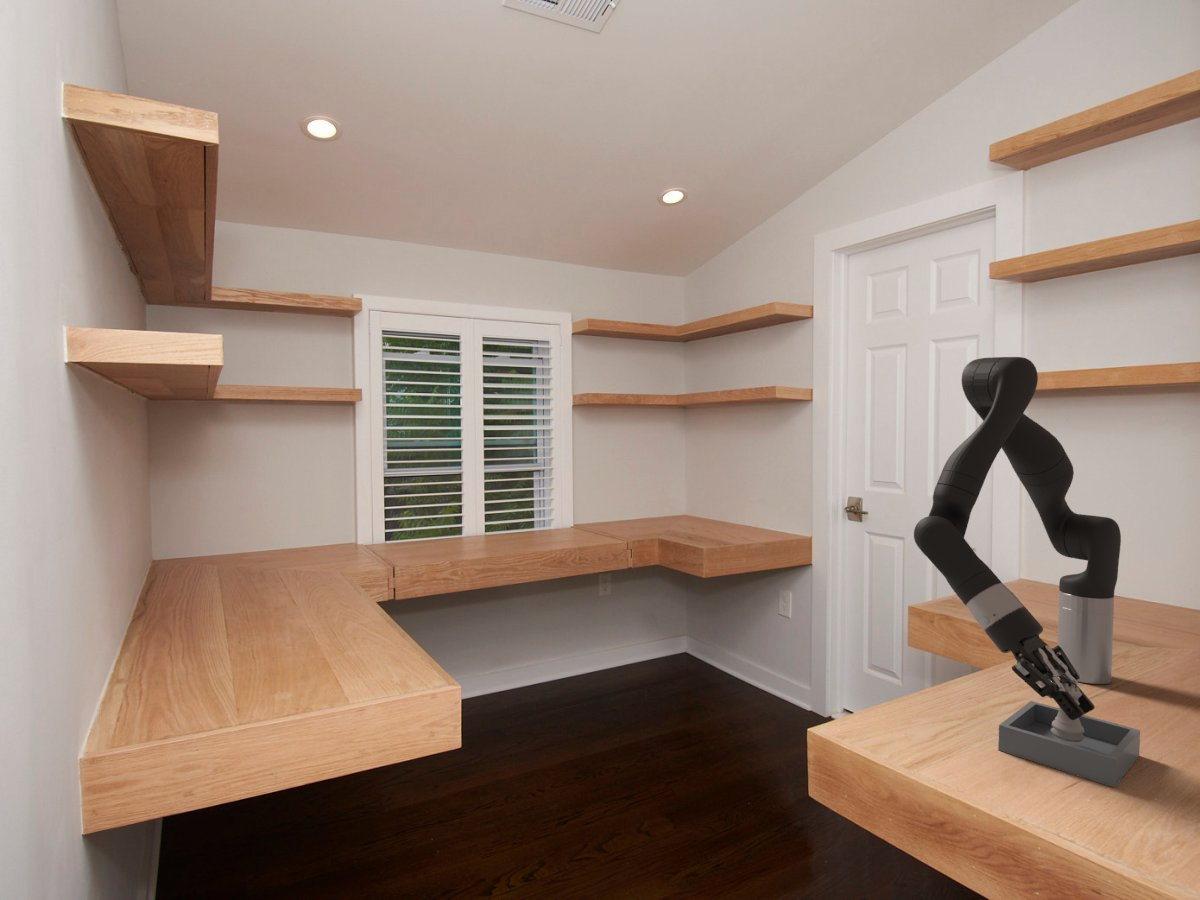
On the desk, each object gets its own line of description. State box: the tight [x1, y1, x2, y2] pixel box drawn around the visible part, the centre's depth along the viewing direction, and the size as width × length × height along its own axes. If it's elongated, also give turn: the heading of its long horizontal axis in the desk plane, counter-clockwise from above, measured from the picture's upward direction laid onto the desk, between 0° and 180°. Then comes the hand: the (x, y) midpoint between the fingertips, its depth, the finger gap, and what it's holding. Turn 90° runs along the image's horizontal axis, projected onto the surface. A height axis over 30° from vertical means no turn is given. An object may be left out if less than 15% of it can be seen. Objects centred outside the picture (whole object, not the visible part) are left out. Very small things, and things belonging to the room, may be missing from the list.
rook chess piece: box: [1051, 683, 1085, 742], centre depth 108 cm, size 4×4×8 cm
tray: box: [998, 700, 1141, 789], centre depth 108 cm, size 15×15×4 cm
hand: (1083, 713), depth 106 cm, fingers open, 3 cm apart
